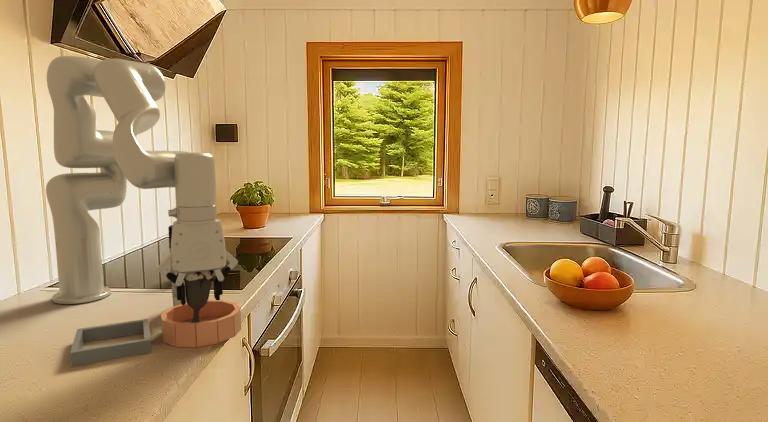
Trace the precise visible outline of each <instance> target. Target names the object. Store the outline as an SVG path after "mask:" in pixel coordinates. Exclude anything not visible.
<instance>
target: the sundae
mask: <svg viewBox="0 0 768 422" xmlns="http://www.w3.org/2000/svg"><path fill="white" fill-rule="evenodd" d="M214 274H215V273H214V270H209V271H200V272H190V273H187V274H186V276H185V277H184V279H183V280H184V282H185V292H186V301H187V304H188V305H189V306H190V307H191V308H192V309H193V310H194V314H193V319H192V320H191V321H190V322H187V323H198V322H202V321H201V320H200V318H199V311H200V309H201V308H203V307H204V306H205V305H206V304H207V301H208V300H209V298H210V294H211V293H210V292H211V288H212V283H214V280H215V278H216V277H215V276H216V275H214Z"/></svg>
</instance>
